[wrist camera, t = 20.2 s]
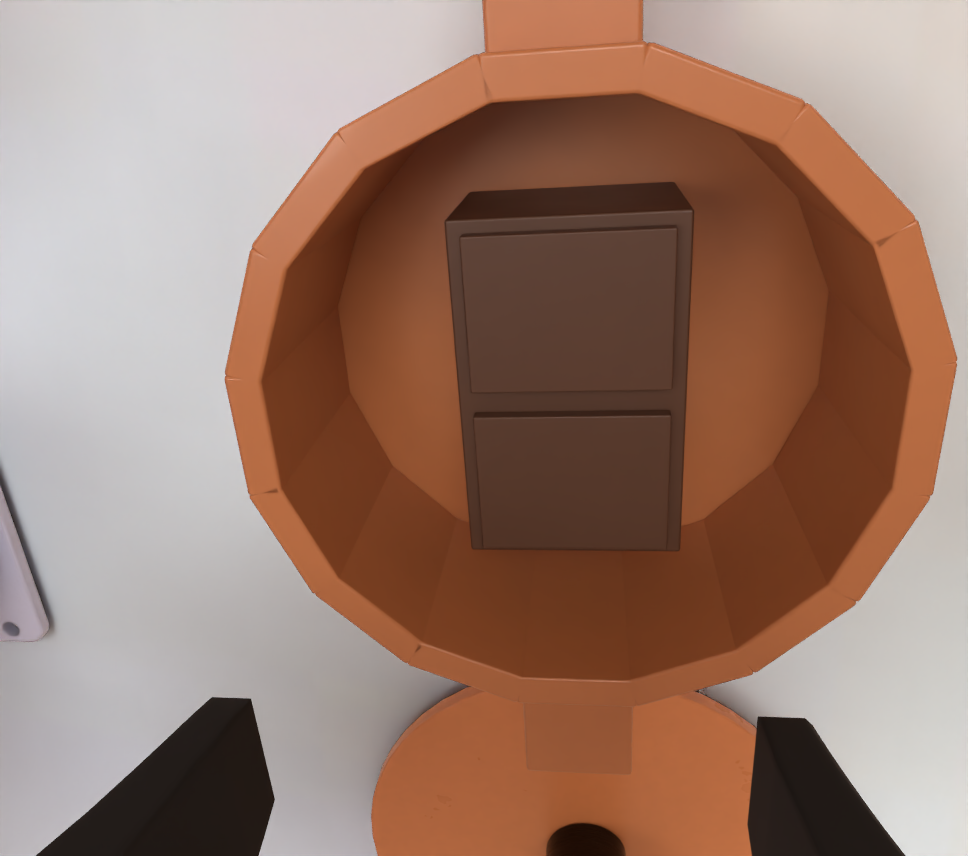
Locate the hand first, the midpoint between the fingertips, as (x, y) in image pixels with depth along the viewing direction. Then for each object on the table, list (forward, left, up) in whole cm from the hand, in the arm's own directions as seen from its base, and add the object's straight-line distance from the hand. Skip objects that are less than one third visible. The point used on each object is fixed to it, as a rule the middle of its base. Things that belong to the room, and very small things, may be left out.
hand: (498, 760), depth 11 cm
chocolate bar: (+1, +3, -10) cm, 10 cm away
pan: (+1, +3, -10) cm, 10 cm away
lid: (+1, -13, -9) cm, 16 cm away
